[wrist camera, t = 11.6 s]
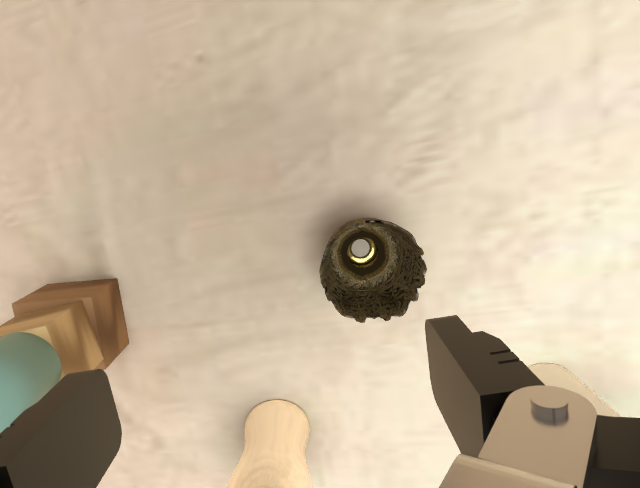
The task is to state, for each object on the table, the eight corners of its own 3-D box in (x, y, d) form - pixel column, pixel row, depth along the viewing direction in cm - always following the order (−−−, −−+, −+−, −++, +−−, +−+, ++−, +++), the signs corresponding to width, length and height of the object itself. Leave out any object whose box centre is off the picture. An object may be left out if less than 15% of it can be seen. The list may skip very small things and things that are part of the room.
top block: (18, 314, 35) (-28, 342, 30) (82, 300, 35) (45, 325, 30) (42, 373, 36) (1, 409, 31) (103, 359, 36) (71, 393, 31)
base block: (48, 283, 40) (11, 303, 35) (117, 278, 40) (91, 297, 35) (62, 348, 41) (29, 376, 36) (129, 342, 41) (105, 369, 36)
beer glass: (224, 423, 43) (181, 568, 28) (282, 380, 42) (270, 507, 28) (271, 473, 44) (254, 637, 30) (328, 433, 43) (340, 581, 29)
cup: (316, 288, 40) (318, 323, 33) (318, 204, 39) (321, 220, 31) (400, 289, 41) (423, 324, 33) (406, 206, 39) (431, 222, 31)
